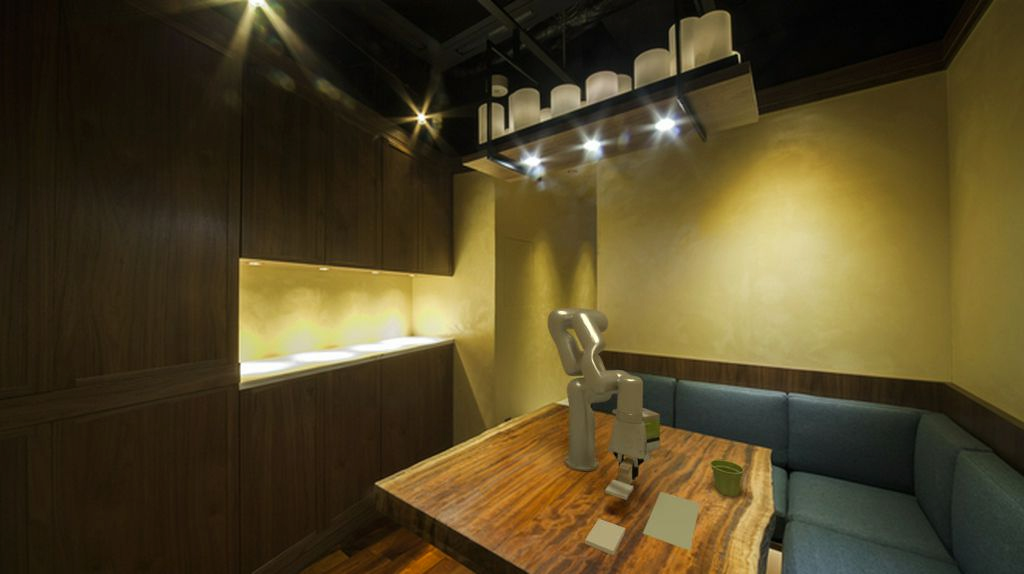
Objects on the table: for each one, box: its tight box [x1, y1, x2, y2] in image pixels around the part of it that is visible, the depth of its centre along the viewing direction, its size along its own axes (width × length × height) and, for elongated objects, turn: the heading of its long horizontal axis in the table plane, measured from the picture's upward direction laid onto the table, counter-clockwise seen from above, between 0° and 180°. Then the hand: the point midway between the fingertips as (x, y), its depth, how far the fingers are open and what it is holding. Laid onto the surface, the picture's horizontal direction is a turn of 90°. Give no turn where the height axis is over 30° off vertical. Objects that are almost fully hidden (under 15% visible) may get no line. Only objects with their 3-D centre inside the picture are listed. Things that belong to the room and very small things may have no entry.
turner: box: [604, 456, 641, 501], centre depth 106 cm, size 21×6×5 cm, turn 146°
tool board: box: [642, 491, 701, 552], centre depth 97 cm, size 24×11×1 cm, turn 147°
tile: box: [584, 518, 626, 556], centre depth 88 cm, size 2×7×10 cm
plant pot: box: [709, 459, 745, 498], centre depth 112 cm, size 9×9×9 cm
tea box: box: [642, 407, 661, 452], centre depth 149 cm, size 15×10×15 cm, turn 25°
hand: (628, 475), depth 108 cm, fingers closed on turner, 3 cm apart
